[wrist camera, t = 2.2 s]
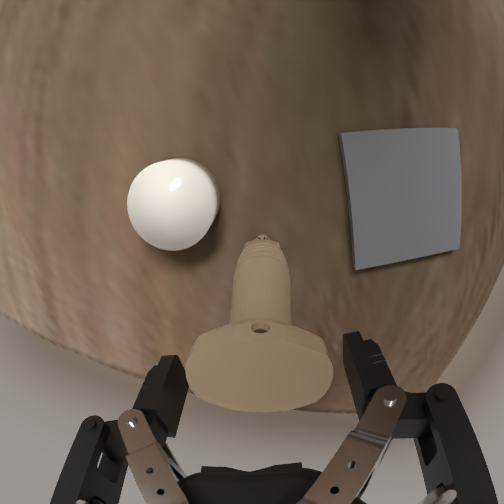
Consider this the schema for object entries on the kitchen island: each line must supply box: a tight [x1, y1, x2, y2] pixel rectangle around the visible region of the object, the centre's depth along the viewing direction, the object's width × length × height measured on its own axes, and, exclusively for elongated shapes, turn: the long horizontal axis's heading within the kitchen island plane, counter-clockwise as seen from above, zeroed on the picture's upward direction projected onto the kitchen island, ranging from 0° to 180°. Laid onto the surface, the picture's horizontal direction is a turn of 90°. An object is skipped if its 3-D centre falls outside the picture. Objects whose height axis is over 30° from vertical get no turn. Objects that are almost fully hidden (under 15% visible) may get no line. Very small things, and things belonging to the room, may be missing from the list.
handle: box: [185, 234, 333, 413], centre depth 18 cm, size 5×6×15 cm
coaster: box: [338, 128, 462, 270], centre depth 22 cm, size 12×12×1 cm
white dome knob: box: [127, 158, 220, 251], centre depth 22 cm, size 7×7×4 cm
